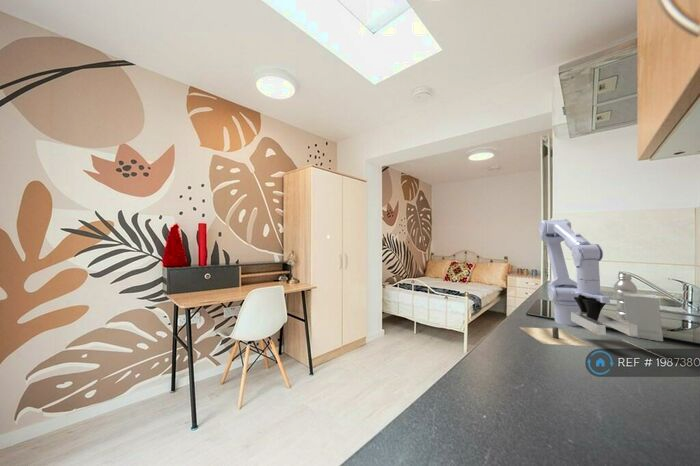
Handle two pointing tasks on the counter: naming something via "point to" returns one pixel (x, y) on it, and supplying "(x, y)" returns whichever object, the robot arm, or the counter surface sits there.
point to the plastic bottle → (623, 287)
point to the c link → (603, 318)
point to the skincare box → (644, 315)
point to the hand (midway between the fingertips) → (590, 319)
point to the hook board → (549, 334)
